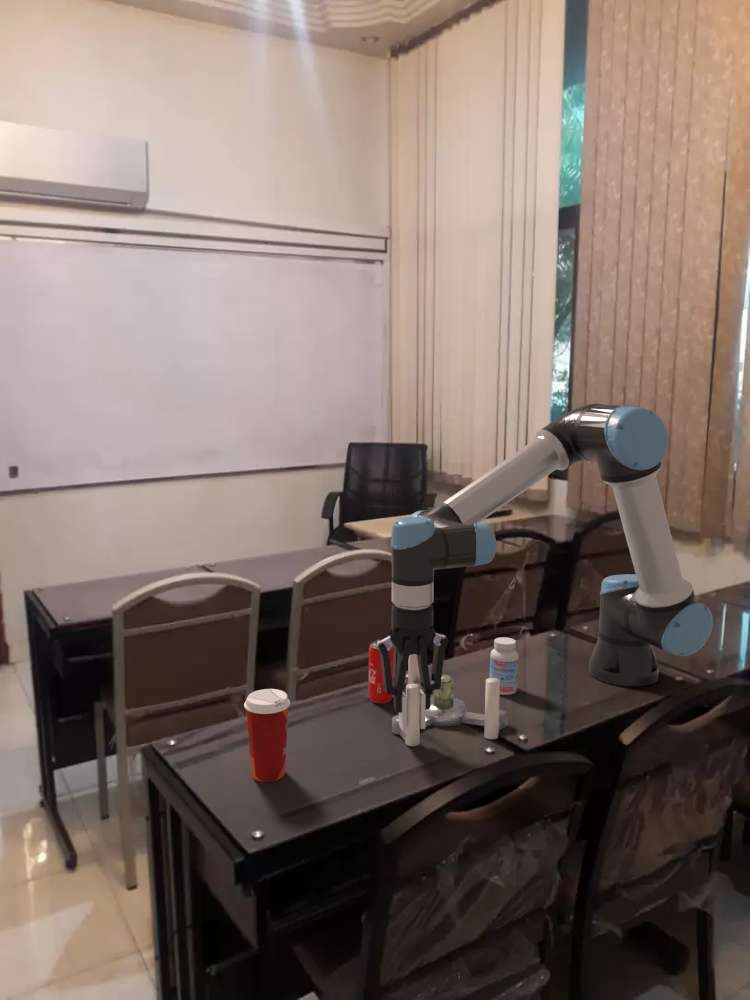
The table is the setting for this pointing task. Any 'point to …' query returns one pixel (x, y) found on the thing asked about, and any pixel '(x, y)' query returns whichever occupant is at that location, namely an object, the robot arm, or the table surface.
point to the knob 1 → (410, 717)
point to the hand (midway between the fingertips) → (411, 726)
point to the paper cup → (267, 733)
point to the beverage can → (378, 675)
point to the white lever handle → (414, 671)
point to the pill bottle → (505, 664)
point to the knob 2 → (493, 710)
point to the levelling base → (449, 708)
